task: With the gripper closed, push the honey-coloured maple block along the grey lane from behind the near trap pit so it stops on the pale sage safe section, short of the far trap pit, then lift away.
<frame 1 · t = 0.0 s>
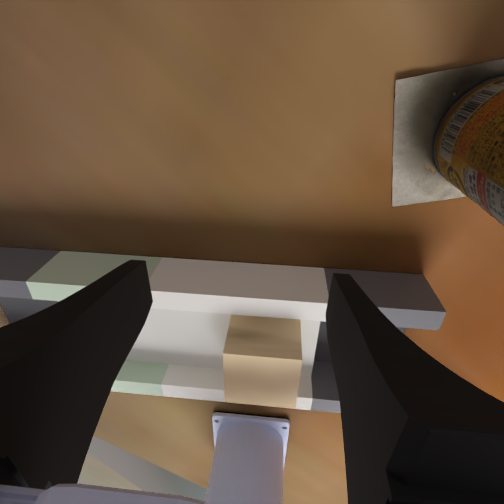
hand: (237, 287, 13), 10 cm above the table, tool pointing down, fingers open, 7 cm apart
condiment: (469, 134, 19), on the table
maple block: (264, 338, 25), point 2 cm above the table, touching trap box
trap box: (194, 314, 27), on the table
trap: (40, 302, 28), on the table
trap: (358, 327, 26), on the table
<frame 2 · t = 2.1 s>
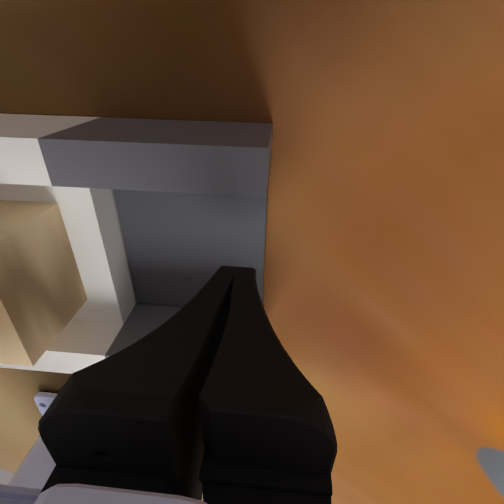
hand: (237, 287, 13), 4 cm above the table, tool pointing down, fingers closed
maple block: (20, 251, 15), point 2 cm above the table, touching trap box
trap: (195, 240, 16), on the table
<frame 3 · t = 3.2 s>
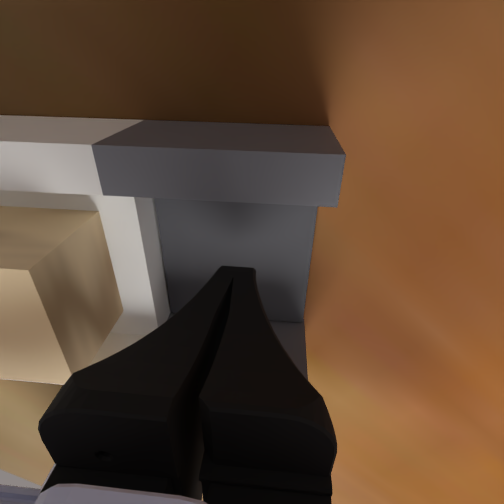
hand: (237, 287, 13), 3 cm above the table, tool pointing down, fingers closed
maple block: (55, 261, 14), point 2 cm above the table, touching trap box
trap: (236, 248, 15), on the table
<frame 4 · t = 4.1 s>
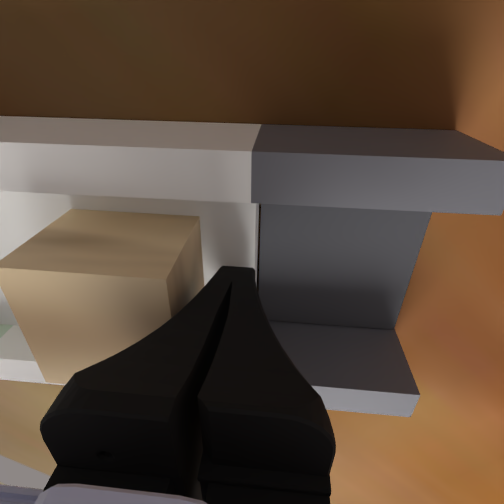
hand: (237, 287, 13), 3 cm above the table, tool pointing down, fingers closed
maple block: (144, 267, 14), point 2 cm above the table, touching gripper
trap box: (51, 238, 16), on the table
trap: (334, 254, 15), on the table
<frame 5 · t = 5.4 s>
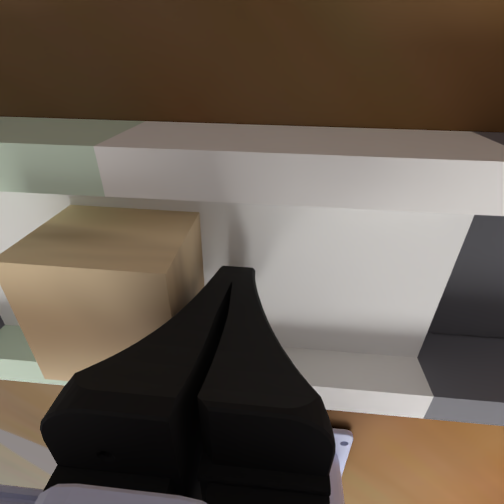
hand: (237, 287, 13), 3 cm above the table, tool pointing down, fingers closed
maple block: (144, 263, 14), point 2 cm above the table, touching gripper
trap box: (205, 247, 15), on the table
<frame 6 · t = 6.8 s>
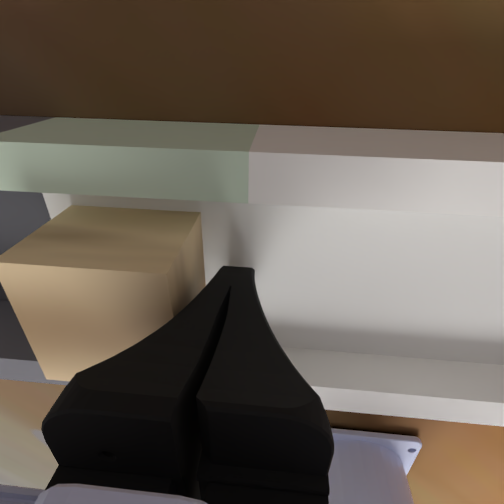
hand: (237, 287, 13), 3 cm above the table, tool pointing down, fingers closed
maple block: (145, 264, 14), point 2 cm above the table, touching gripper, trap box
trap box: (299, 252, 15), on the table
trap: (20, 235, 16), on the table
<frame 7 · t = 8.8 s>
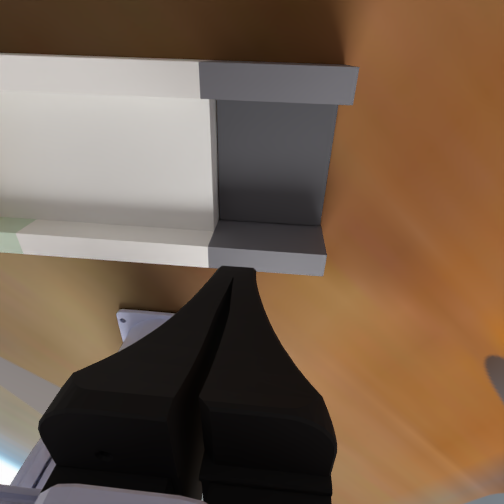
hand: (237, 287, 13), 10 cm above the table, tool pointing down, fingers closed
trap box: (66, 152, 21), on the table
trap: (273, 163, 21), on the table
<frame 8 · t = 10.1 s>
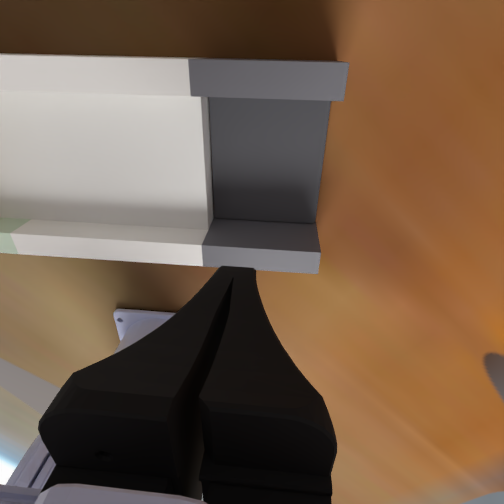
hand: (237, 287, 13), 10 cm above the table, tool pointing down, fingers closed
trap box: (60, 152, 21), on the table
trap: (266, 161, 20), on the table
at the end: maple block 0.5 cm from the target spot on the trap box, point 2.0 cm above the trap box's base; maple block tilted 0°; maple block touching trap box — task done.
